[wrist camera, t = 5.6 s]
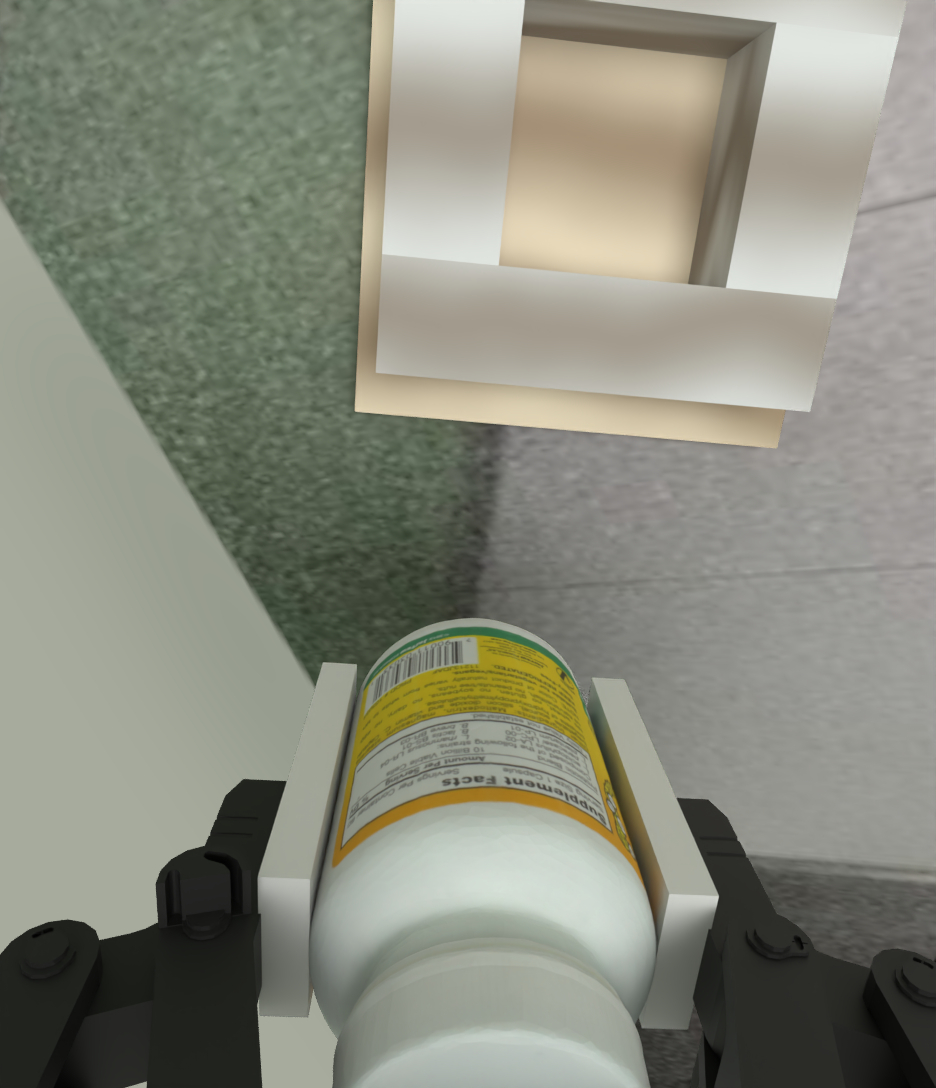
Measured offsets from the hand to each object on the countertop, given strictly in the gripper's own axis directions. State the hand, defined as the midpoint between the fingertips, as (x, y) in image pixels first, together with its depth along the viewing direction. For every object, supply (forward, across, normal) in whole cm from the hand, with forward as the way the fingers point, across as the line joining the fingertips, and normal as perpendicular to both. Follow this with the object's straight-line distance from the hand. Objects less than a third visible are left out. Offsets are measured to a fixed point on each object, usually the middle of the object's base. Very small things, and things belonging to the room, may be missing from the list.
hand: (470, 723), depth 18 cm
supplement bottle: (0, 0, 0) cm, 0 cm away
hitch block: (+15, -4, -13) cm, 20 cm away
